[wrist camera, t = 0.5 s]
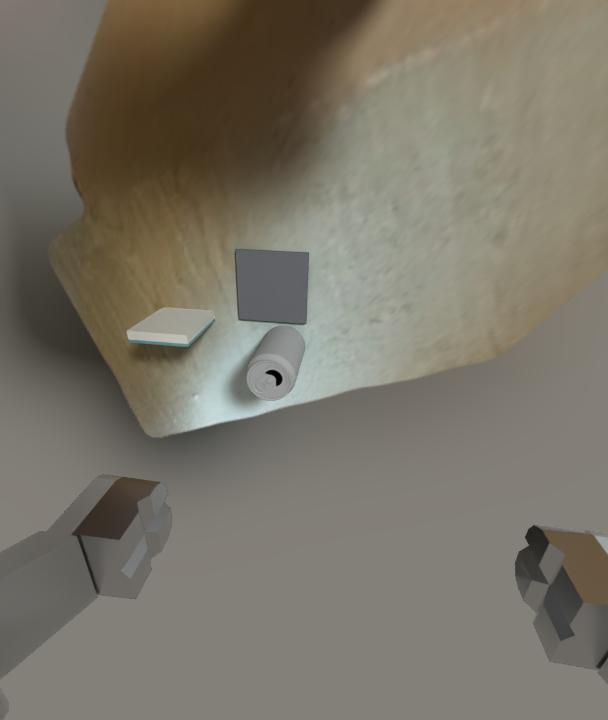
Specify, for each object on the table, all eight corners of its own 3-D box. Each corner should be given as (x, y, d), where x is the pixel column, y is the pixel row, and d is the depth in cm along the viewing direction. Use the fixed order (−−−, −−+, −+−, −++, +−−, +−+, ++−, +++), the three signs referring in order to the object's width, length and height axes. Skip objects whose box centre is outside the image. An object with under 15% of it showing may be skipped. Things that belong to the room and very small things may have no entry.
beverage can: (314, 348, 55) (304, 388, 44) (281, 369, 57) (265, 411, 46) (288, 315, 53) (272, 348, 42) (256, 338, 55) (232, 375, 44)
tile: (163, 307, 55) (126, 330, 46) (214, 310, 54) (186, 335, 45) (164, 317, 55) (128, 342, 46) (215, 320, 55) (188, 346, 46)
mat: (236, 248, 49) (235, 249, 49) (308, 252, 48) (308, 253, 48) (240, 317, 54) (239, 319, 53) (306, 322, 53) (305, 323, 52)
